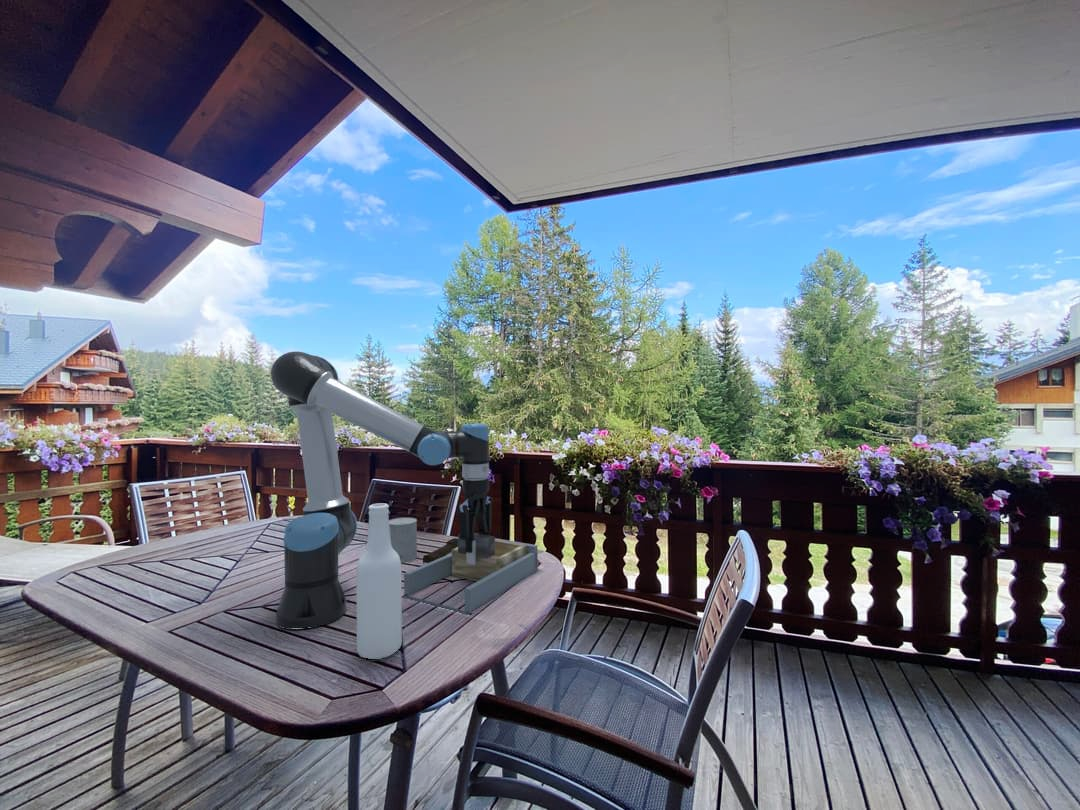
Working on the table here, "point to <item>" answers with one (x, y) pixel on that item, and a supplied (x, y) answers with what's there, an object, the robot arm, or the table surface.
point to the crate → (485, 557)
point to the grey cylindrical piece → (404, 537)
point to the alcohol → (379, 590)
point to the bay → (479, 589)
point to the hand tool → (441, 551)
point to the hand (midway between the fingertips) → (476, 560)
